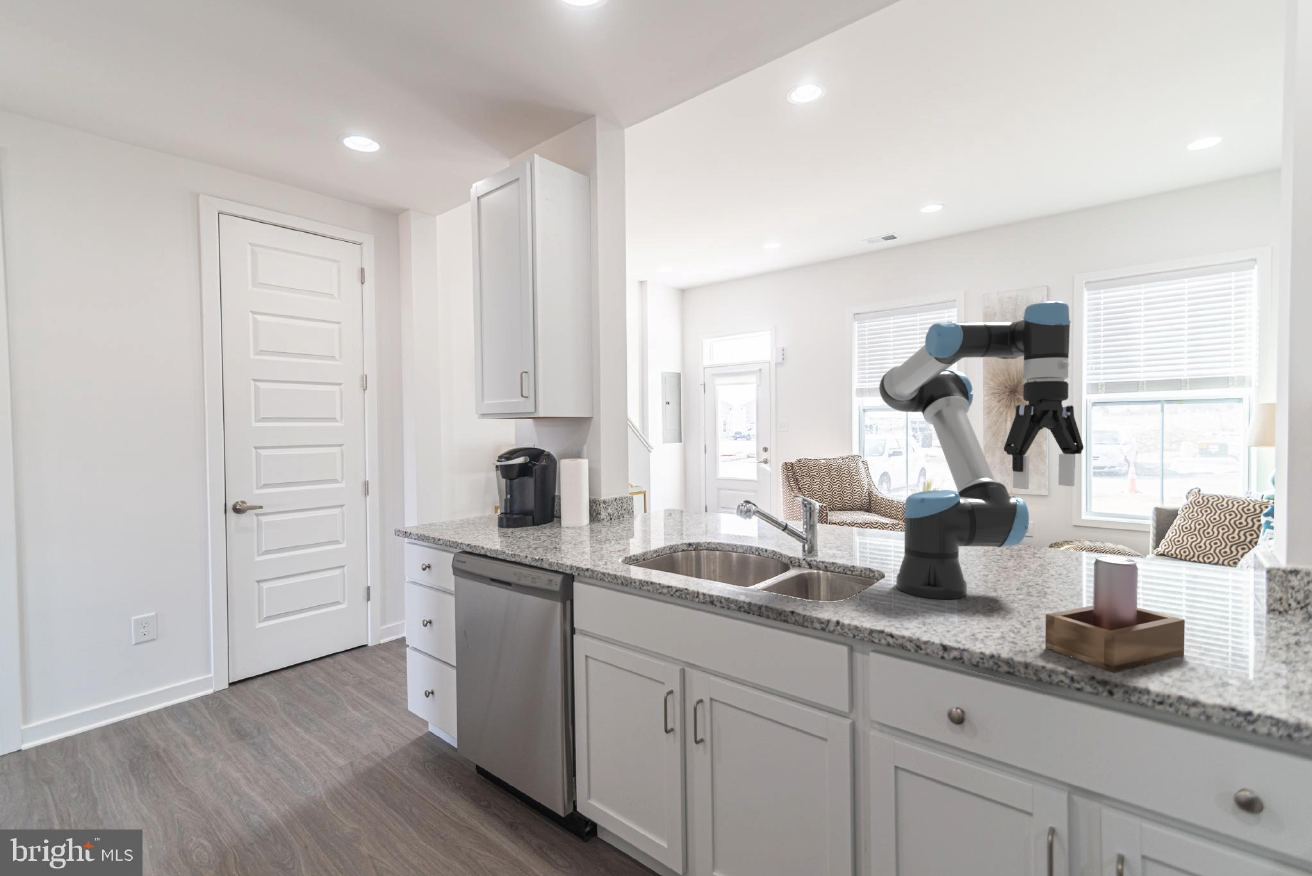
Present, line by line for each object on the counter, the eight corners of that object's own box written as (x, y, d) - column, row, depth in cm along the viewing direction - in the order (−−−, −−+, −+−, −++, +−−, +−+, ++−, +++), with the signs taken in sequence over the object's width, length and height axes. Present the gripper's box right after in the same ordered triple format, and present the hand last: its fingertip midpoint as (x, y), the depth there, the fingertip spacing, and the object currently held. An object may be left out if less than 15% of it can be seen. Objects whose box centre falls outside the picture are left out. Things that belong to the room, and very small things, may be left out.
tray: (1045, 648, 103) (1045, 614, 103) (1113, 633, 111) (1113, 601, 110) (1114, 672, 93) (1114, 635, 93) (1184, 654, 100) (1184, 619, 100)
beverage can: (1089, 636, 106) (1091, 554, 106) (1131, 642, 103) (1132, 557, 103) (1096, 648, 101) (1097, 561, 100) (1140, 654, 98) (1142, 565, 97)
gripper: (1020, 378, 109) (1018, 491, 110) (1105, 381, 119) (1103, 486, 119) (984, 380, 116) (982, 487, 117) (1067, 383, 126) (1065, 482, 126)
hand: (1044, 487), depth 118 cm, fingers open, 13 cm apart
